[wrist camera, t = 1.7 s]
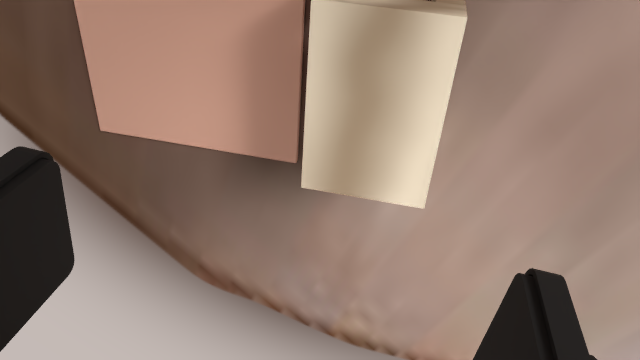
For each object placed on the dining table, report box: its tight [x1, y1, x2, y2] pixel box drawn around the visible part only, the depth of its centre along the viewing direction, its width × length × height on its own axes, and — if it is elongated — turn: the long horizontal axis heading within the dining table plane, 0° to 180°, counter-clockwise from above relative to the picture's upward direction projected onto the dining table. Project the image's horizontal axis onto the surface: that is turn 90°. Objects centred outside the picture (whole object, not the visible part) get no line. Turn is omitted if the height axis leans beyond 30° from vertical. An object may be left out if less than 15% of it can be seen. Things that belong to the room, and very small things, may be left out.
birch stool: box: [301, 0, 467, 209], centre depth 25 cm, size 6×9×8 cm, turn 176°
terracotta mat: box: [74, 0, 305, 163], centre depth 30 cm, size 14×14×1 cm
